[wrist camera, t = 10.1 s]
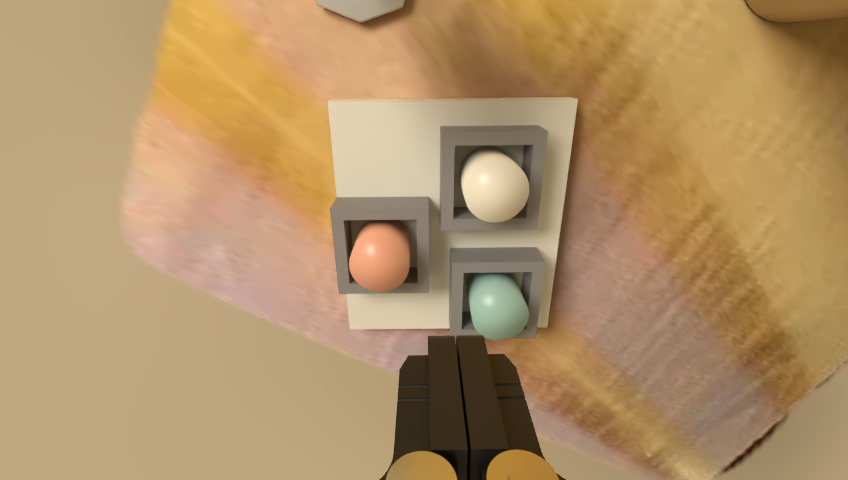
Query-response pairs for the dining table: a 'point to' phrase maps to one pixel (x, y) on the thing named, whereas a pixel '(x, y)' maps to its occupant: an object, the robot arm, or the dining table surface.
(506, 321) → the mint green button
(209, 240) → the dining table surface
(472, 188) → the ivory button
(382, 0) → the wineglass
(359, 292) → the console
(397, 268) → the coral button
